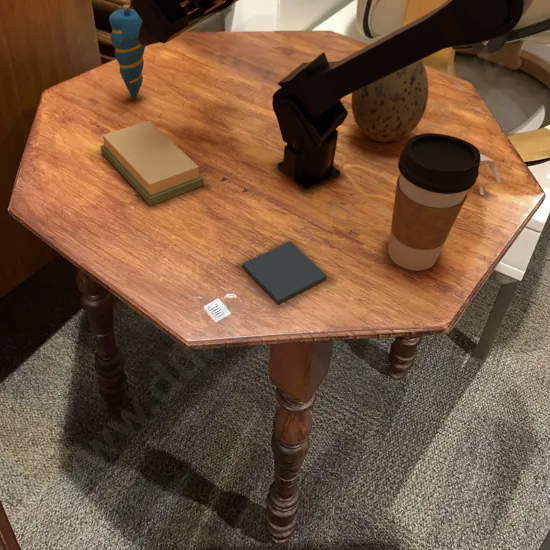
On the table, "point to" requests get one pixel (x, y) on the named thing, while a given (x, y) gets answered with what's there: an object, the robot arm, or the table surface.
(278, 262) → the mat
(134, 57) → the ornament
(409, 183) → the coffee cup
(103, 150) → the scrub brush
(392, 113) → the decorative egg
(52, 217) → the table surface
